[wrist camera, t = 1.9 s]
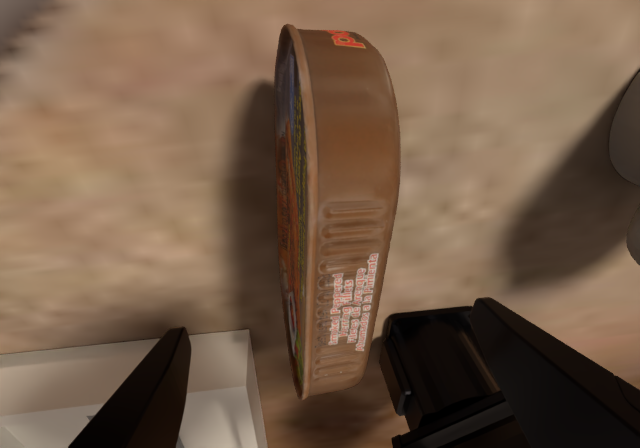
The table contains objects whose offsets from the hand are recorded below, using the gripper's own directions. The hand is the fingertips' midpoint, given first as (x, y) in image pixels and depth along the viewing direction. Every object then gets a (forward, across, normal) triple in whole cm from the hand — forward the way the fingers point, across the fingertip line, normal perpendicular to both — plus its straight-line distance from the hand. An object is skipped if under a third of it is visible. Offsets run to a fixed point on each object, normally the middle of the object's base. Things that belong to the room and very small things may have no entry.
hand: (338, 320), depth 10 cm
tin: (+9, 0, 0) cm, 9 cm away
